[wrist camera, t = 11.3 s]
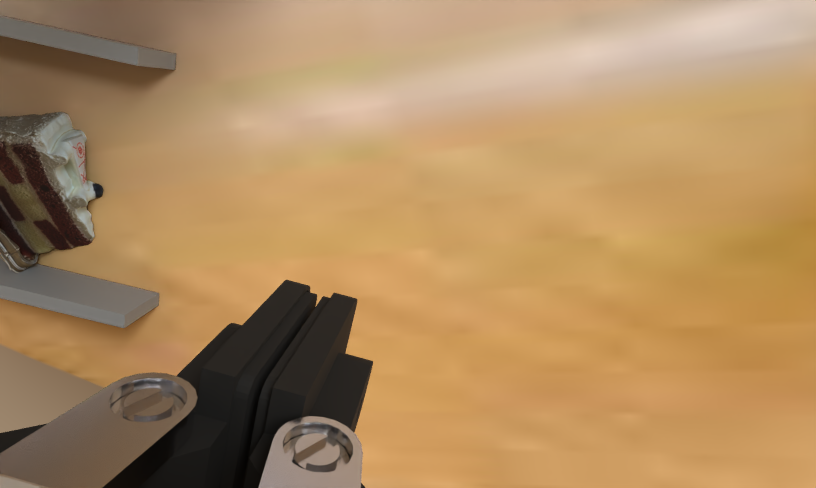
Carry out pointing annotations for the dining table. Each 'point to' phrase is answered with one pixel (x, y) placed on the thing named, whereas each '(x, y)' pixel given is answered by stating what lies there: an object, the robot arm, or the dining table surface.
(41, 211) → the chocolate cake
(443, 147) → the dining table surface
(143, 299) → the box
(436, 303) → the dining table surface
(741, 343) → the dining table surface
